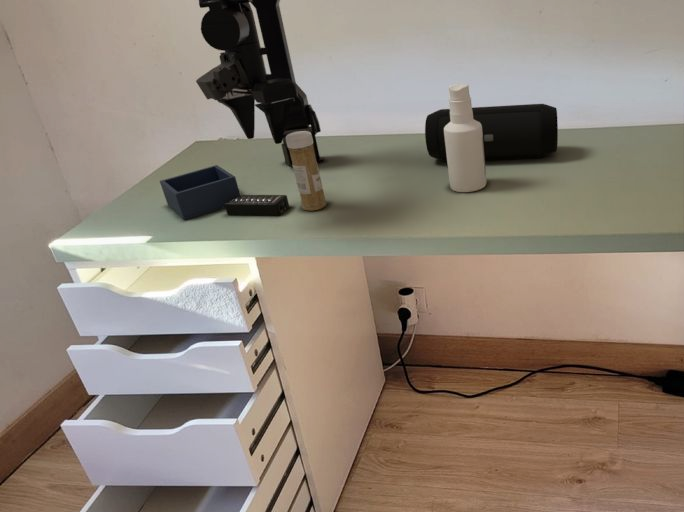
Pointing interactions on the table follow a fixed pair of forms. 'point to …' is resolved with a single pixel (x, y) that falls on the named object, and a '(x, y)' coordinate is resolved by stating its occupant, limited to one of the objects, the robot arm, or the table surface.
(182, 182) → the tub
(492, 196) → the table surface
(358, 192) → the table surface
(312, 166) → the sprinkles bottle
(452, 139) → the spray bottle
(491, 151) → the portable speaker
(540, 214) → the table surface
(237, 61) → the robot arm
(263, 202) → the multiport hub
